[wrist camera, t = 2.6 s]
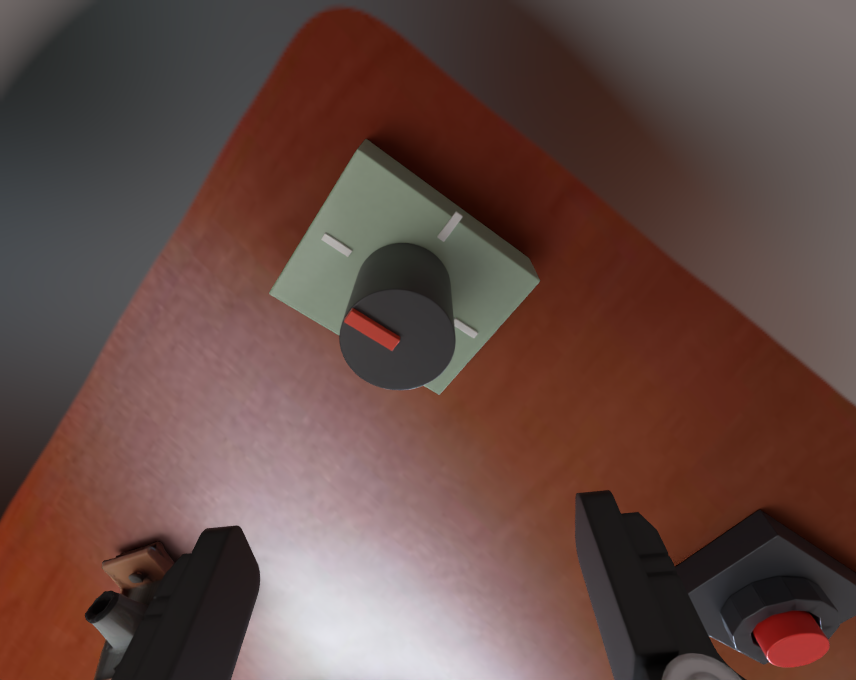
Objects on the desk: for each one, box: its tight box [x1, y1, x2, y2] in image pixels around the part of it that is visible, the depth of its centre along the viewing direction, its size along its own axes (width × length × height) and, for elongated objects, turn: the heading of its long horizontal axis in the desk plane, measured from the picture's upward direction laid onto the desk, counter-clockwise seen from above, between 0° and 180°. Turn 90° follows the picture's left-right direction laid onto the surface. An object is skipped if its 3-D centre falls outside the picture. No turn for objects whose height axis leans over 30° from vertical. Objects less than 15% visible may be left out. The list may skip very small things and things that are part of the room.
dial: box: [339, 243, 456, 390], centre depth 21 cm, size 4×4×6 cm
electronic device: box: [85, 542, 174, 680], centre depth 36 cm, size 4×10×8 cm, turn 24°
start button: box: [753, 610, 830, 667], centre depth 35 cm, size 4×4×2 cm
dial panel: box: [269, 139, 540, 394], centre depth 25 cm, size 10×9×3 cm
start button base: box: [675, 510, 856, 664], centre depth 37 cm, size 12×10×4 cm
